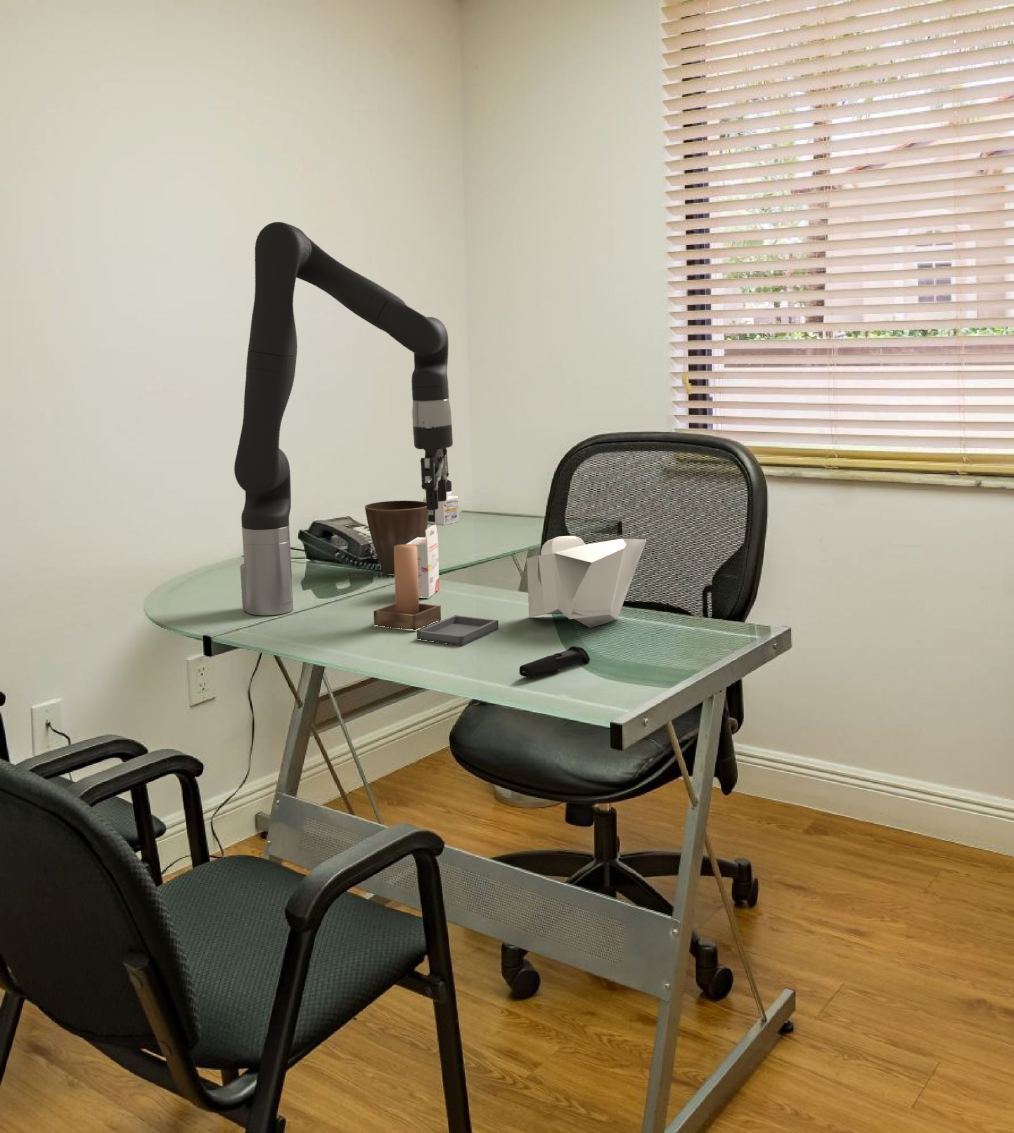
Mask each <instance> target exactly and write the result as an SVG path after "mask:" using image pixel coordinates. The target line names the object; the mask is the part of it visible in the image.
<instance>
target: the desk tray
mask: <svg viewBox="0 0 1014 1133" xmlns="http://www.w3.org/2000/svg"><path fill="white" fill-rule="evenodd" d="M497 630H499V620H498V619H491V618H481V617H472V616H464V615H456V614H455V615H452V616H449V617H447V618H445V619H441V621H440V622H437V623H435V624H432V625H430V626H428V627H425V628H423V629H420V630H418V631H416V639H421V640H427V641H434V642H439V643H438V644H442V643H447V644H446V645H449V644H451V646H457V645H459V646H458V647H463V645H464V646H465V645H468V644H469V643H472V642H474V641H476V640H479V639H481V638H482V637H485V636H487V635H489V634H491V633H494V632H496V631H497ZM427 641H426V642H427ZM434 642H433V643H434ZM467 643H468V644H467Z"/></svg>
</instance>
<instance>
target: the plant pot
mask: <svg viewBox="0 0 1014 1133" xmlns="http://www.w3.org/2000/svg"><path fill="white" fill-rule="evenodd" d="M364 510H365V515H366V521H367V526H368V529H369V535H370V537H371V542H372V544H373V548H374V550H375V554H376V557H377V559H378V561H379V564H380V567H381V569H382V571H383V573H384V575H386V574H394V575H395V568H394V546H396V545H403V544H407V543H409V542H411V541H412V540H414V539H415V538H417V537H423V538H426V533H425V530H426V529H428V525H429V524H428V517H429V510H428V509H427V505H426V502H423V501H420V500H386V501H379V502H378V501H375V502H372V503H367V504H365V506H364Z"/></svg>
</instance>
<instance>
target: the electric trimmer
mask: <svg viewBox="0 0 1014 1133" xmlns="http://www.w3.org/2000/svg"><path fill="white" fill-rule="evenodd" d="M590 661H591V658H590V656H589V654H588V652H587V650H585V648H583V647H581V646H576V645H575V646H574V645H573V646H570V647H569V648H568V649H566V650H564V651H561V652H558V653H554V654H551V655H547V656H545V657H542V658H539V659H536V660H533V661H530V662H528V663H525V664H522V665H520V666H519V669H518V670H519V675H520V676H521V677H525V678H529V679H533V678H537V677H543V676H547V675H553V674H556V673H559V671H560V670H562V669H566V668H569V667H572V666H576V665H578V664H587V665H588V664H589V662H590Z"/></svg>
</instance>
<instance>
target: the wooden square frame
mask: <svg viewBox="0 0 1014 1133" xmlns="http://www.w3.org/2000/svg"><path fill="white" fill-rule="evenodd" d="M441 609H442V606H441V605H438V604H437V605H436V604H429V603H420V602H419V613H417V614H415V615H410V614H402V613H396V602H394V603H392V604H389V605H386V606H384V607H381V608H378V609H375V610H373V626H374V625H378V626H385V627H389V628H388V629H390V627H391V628H400V629H401V628H402V629H413V630H416V629H418V628H422V627H423V626H427V625H429V624H431V623H433V622H436V621H440V620H441V621H442V610H441Z"/></svg>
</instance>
